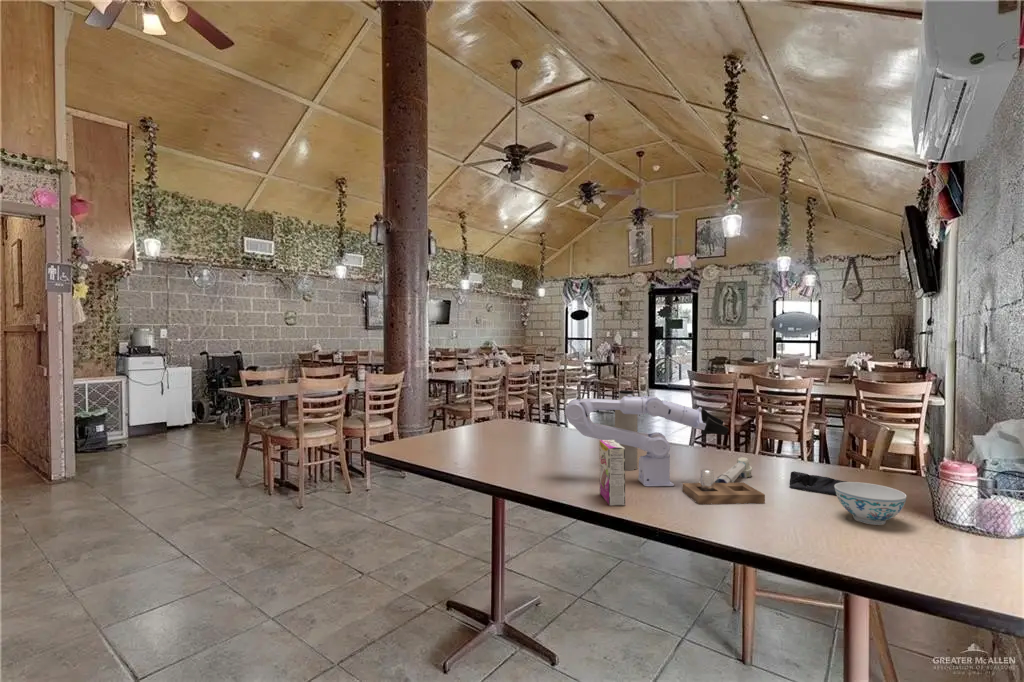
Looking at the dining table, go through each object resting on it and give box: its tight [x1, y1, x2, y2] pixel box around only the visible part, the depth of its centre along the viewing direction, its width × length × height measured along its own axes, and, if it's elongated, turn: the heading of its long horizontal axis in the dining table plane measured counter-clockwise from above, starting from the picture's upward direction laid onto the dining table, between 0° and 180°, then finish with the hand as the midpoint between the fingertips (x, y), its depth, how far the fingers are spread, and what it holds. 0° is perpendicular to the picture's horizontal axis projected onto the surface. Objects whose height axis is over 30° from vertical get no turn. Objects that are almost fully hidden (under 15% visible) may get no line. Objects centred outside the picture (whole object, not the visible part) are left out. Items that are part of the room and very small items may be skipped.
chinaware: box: [834, 481, 907, 526], centre depth 128 cm, size 15×15×8 cm
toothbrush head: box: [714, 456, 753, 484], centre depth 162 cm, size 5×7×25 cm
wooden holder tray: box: [681, 481, 766, 505], centre depth 146 cm, size 19×12×2 cm, turn 92°
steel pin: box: [700, 468, 715, 491], centre depth 146 cm, size 4×4×8 cm
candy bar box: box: [598, 439, 626, 507], centre depth 144 cm, size 11×5×16 cm, turn 4°
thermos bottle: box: [614, 389, 638, 471], centre depth 181 cm, size 8×8×28 cm
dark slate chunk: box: [788, 470, 848, 496], centre depth 154 cm, size 15×22×5 cm
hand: (724, 427), depth 157 cm, fingers open, 7 cm apart
